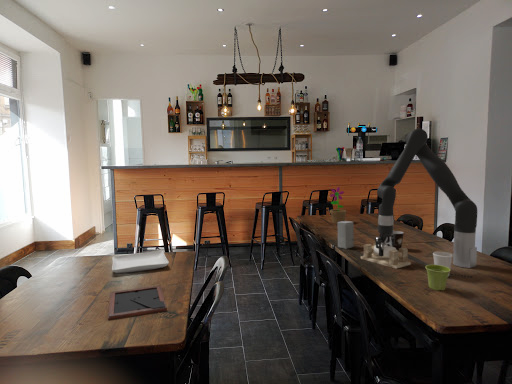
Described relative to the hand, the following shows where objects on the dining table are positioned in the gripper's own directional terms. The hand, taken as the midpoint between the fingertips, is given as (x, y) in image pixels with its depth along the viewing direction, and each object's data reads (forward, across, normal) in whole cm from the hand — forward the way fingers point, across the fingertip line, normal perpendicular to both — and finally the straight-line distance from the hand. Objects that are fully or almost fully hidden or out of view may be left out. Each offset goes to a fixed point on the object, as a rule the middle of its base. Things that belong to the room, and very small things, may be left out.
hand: (385, 255), depth 188 cm
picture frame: (+4, -122, +22) cm, 124 cm away
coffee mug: (+4, +26, +14) cm, 30 cm away
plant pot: (+4, -15, -37) cm, 40 cm away
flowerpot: (+4, +64, +95) cm, 115 cm away
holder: (+3, 0, 0) cm, 3 cm away
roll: (+1, 0, 0) cm, 1 cm away
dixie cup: (+4, +3, -29) cm, 29 cm away
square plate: (+4, -108, +71) cm, 129 cm away
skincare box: (+4, +6, +34) cm, 34 cm away
